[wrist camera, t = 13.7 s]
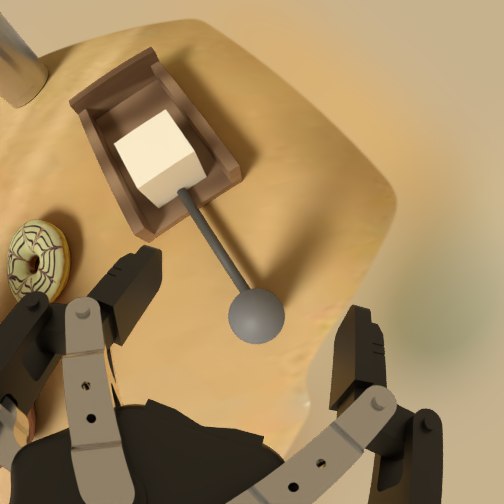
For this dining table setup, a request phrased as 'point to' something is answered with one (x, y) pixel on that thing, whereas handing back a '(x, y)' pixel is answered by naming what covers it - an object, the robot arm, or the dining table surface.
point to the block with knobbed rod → (194, 214)
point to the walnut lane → (135, 114)
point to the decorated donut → (51, 260)
